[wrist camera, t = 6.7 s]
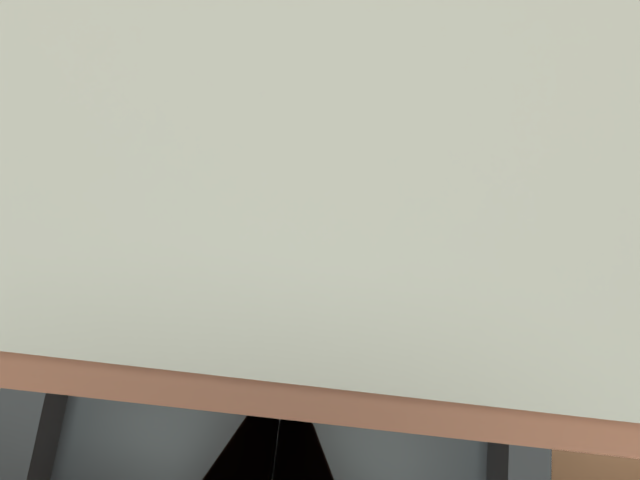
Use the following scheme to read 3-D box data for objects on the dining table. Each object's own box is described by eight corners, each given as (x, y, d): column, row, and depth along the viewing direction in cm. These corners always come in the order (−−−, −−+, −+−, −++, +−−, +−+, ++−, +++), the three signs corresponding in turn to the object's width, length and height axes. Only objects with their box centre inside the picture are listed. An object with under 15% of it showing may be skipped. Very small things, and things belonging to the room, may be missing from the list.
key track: (512, 679, 14) (558, 741, 12) (-17, 627, 14) (-80, 679, 11) (526, 97, 18) (562, 55, 15) (114, 43, 17) (87, -8, 15)
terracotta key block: (479, 417, 14) (754, 476, 6) (82, 372, 14) (-224, 367, 6) (488, 193, 16) (719, -16, 7) (128, 148, 15) (-59, -123, 7)
